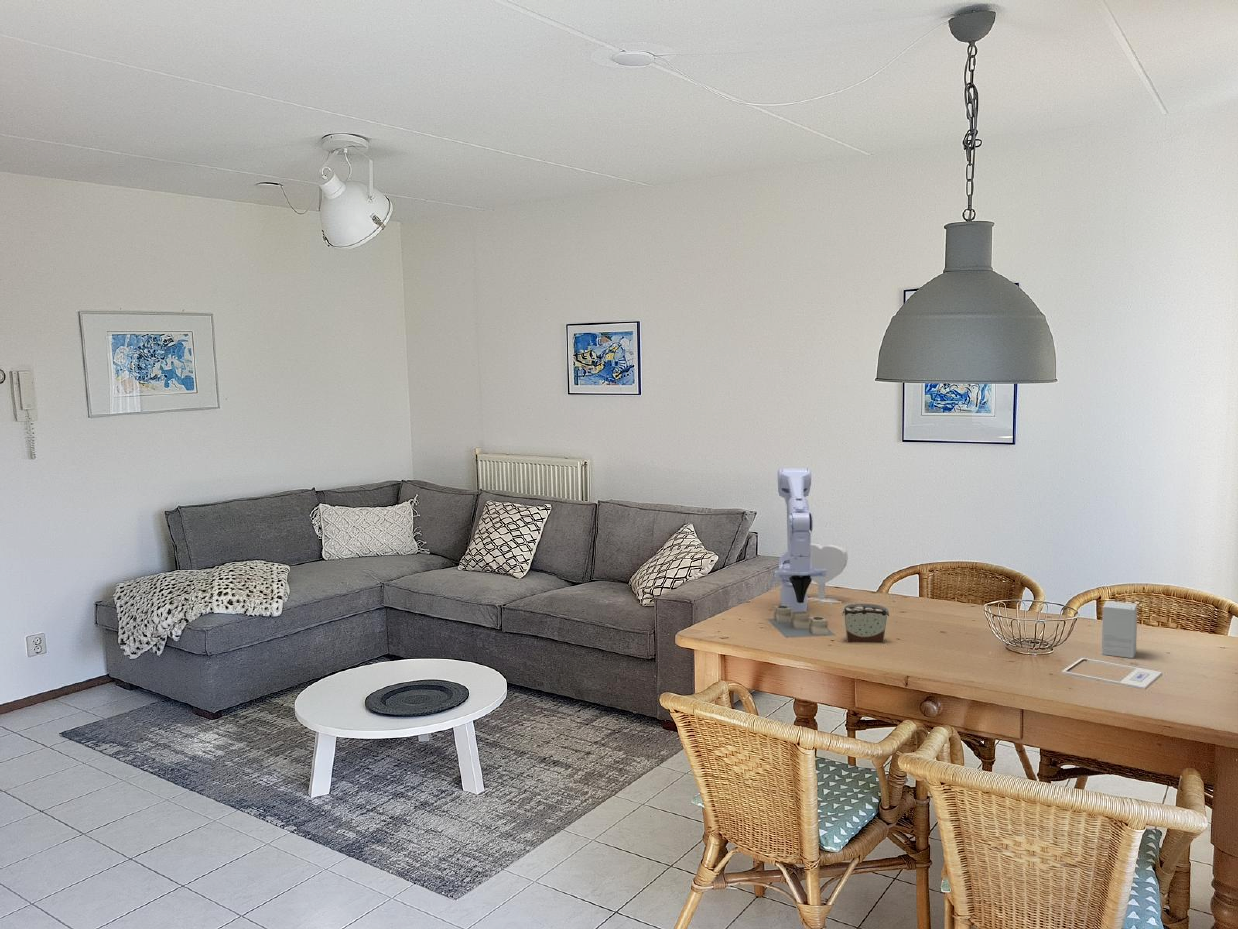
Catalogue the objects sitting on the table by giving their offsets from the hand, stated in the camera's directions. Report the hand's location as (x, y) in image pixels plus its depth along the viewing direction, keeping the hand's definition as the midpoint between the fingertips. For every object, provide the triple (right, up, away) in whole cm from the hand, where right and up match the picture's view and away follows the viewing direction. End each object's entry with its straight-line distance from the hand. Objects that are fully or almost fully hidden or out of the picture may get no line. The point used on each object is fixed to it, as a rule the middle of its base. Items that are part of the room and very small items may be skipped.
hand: (800, 602), depth 269 cm
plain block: (0, -7, +1) cm, 7 cm away
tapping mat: (0, -8, +1) cm, 8 cm away
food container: (+15, -9, -13) cm, 21 cm away
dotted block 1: (-4, -7, +7) cm, 10 cm away
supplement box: (+77, -10, -26) cm, 81 cm away
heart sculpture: (+13, -5, +34) cm, 37 cm away
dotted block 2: (+4, -8, -6) cm, 10 cm away
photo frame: (+66, -12, -42) cm, 79 cm away
